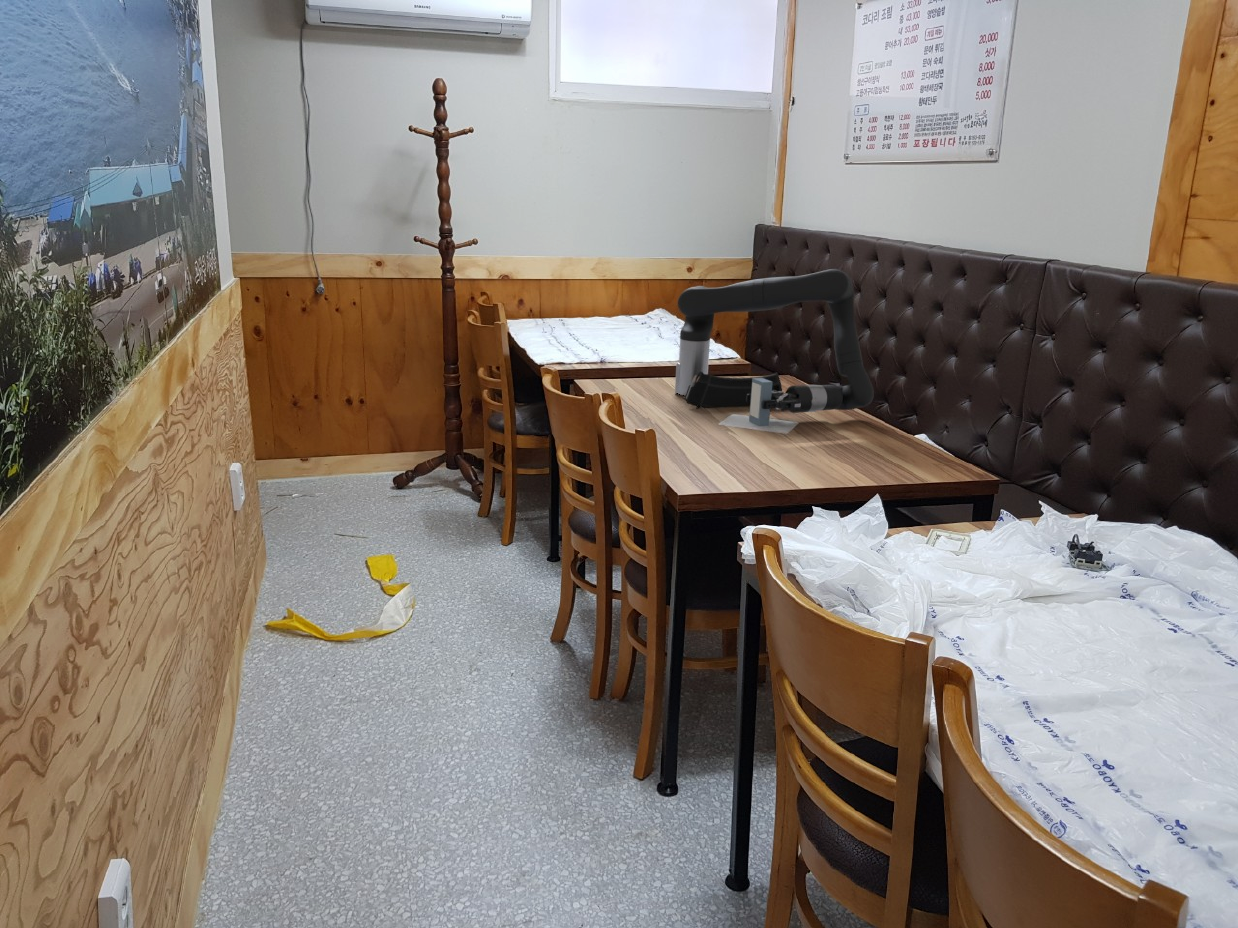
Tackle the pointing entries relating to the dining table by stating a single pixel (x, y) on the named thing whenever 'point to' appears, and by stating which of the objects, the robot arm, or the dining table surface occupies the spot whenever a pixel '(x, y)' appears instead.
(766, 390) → the placard
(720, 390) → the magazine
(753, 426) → the mat
